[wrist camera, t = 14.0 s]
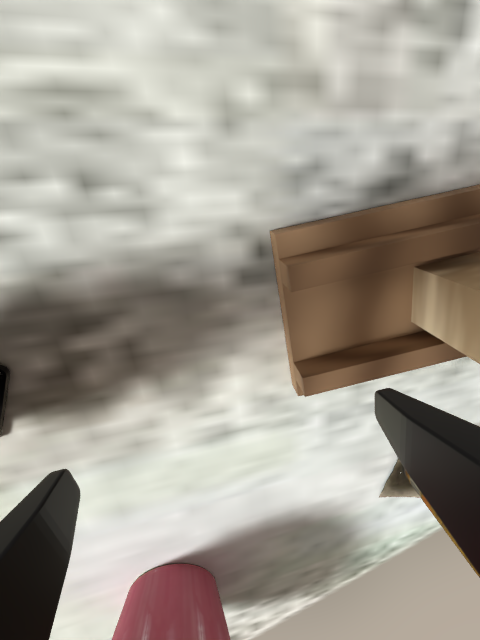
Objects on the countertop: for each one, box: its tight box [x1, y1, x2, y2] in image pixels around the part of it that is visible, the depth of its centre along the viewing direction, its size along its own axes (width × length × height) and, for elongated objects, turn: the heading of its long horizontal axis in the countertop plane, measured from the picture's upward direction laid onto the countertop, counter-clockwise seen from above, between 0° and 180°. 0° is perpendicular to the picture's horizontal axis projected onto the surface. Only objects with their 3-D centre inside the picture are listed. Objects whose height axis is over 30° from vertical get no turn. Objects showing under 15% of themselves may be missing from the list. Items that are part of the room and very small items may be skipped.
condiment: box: [379, 459, 480, 577], centre depth 25 cm, size 7×8×12 cm
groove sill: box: [270, 185, 480, 397], centre depth 21 cm, size 22×12×4 cm, turn 101°
